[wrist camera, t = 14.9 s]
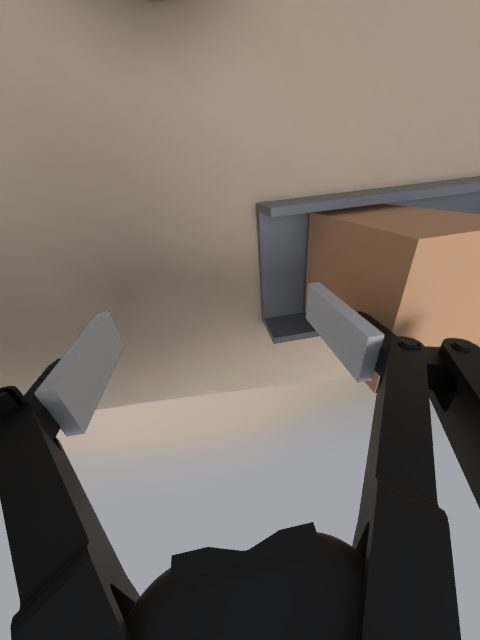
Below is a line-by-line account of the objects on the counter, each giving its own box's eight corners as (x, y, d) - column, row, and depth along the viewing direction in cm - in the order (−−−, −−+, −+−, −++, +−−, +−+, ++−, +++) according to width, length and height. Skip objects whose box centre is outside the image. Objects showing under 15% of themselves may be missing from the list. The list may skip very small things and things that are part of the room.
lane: (262, 320, 25) (273, 343, 21) (256, 202, 19) (270, 207, 16) (465, 286, 27) (507, 302, 23) (514, 172, 21) (580, 170, 18)
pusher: (304, 310, 24) (374, 393, 14) (309, 211, 19) (418, 239, 10) (359, 301, 24) (462, 375, 15) (378, 203, 20) (544, 221, 10)
